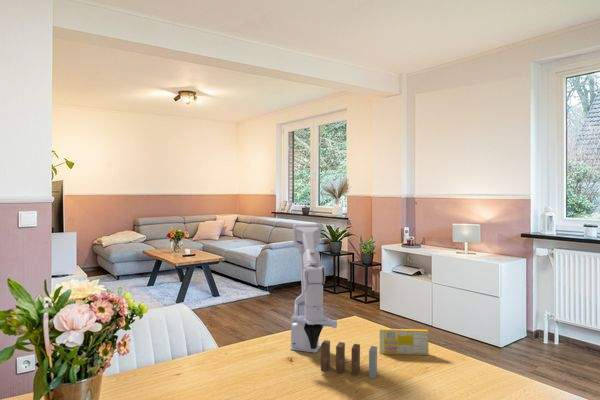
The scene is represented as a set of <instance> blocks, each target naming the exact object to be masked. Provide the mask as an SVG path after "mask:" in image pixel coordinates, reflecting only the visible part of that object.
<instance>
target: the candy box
mask: <svg viewBox="0 0 600 400" xmlns="http://www.w3.org/2000/svg"><path fill="white" fill-rule="evenodd" d="M378 333H379V340H378V341H379V348H378V349H379V354H386V355H387V354H389V355H407V356H408V355H411V356H413V355H414V356H415V355H416V356H429V355H430V354H429V351H430V350H429V330H428V329H421V328H420V329H419V328H418V329H416V328H415V329H412V328H411V329H409V328H383V327H382V328H380V327H379V332H378Z"/></svg>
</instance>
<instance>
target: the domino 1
mask: <svg viewBox="0 0 600 400" xmlns="http://www.w3.org/2000/svg"><path fill="white" fill-rule="evenodd" d="M321 343H322V344H321V347H320V371H322V372H323V371H324V372H327V371H328V370H329V368H330V367H331V340H326V339H324V340H323V341H322V342H321Z"/></svg>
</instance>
